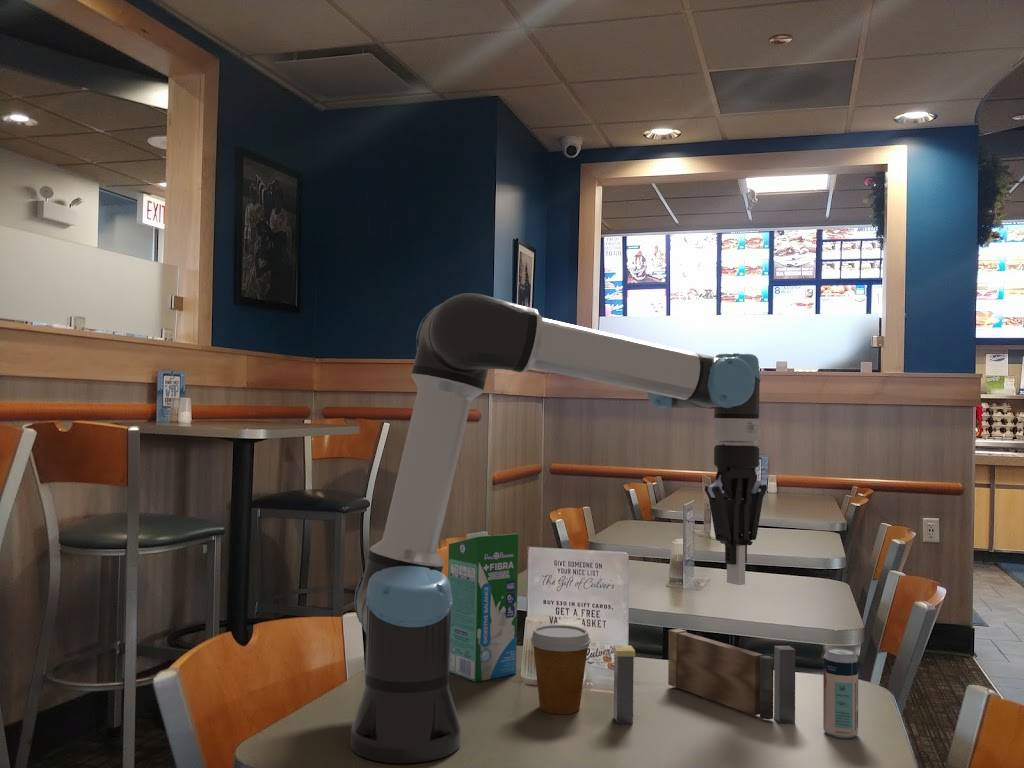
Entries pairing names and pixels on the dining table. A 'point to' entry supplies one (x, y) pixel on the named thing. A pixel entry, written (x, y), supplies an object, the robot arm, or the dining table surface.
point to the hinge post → (784, 684)
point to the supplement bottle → (840, 693)
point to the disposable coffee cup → (560, 666)
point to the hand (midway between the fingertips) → (735, 583)
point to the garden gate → (721, 672)
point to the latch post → (623, 683)
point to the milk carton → (483, 606)
